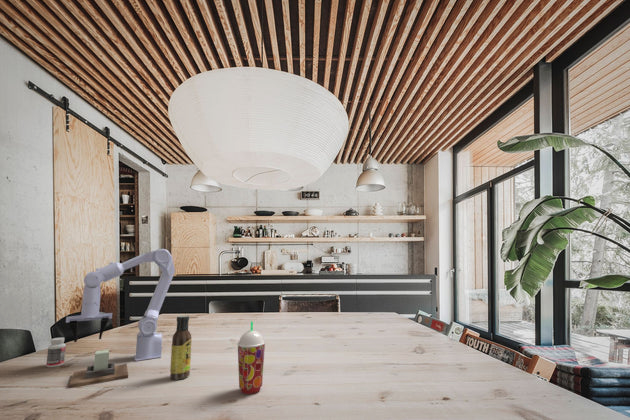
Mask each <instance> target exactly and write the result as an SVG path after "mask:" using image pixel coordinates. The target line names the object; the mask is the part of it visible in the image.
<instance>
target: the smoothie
mask: <svg viewBox="0 0 630 420" xmlns="http://www.w3.org/2000/svg"><path fill="white" fill-rule="evenodd" d="M253 328H254V321H253V320H251V321H250V330H248V331H246V332H244V333H243V334H242V335H241V336H240V339H239V340H238V342H237V359H238V360H237V361H238V363H237V364H238V365H237V366H238V387H239V389H240V392H241V393H243V394H245V395H253V394H257V393H259V392H260V391H261V387H262V386H263V379H264V378H263V376H264V363H265V348H266V347H265V346H266V341H265V340H264V336H263V335H262V334H261V333H260V332H259V331H257V330H254V329H253Z"/></svg>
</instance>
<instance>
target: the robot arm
mask: <svg viewBox="0 0 630 420" xmlns="http://www.w3.org/2000/svg"><path fill="white" fill-rule="evenodd" d="M143 263H154V264H156V265H157V266H158V268H159V269H160V272H161V275H160V277H159V279H158V282H157V284H156V286H155V290H154V292H153V295H152V297H151V299H150V302H149V304H148V306H147V309H146V310H145V312H144V315H143V316H142V317H141V318H140V319H139V321H138V323H137V328H138V330H139V332H138V333H136V345H135V346H136V348H135V354H134V355H133V359H134V361H135V362H138V361H144V360H151V359H159V358H161V357H162V352H163V351H162V350H163V334H162V333H161V332H160V333H158V332H157V328H158V322H157V321H158V319H159V314H160V311H161V308H162V306H163V303H164V301H165V298H166V295H167V293H168V290H169V288H170V285H171V283H172V280H173V278H174V275H175V272H176V269H175V265H174V259H173V255H172V254H171V253H170V251H169V250H167V249H165V248H159V249H156V250H152V251H148V252H144V253H142V254H140V255H139V254H138V256H135V257H133V258H131V259H128V260H126V261H123V262H122V263H121V262H117V261H115V262H113V261H111V262H108V265H105V266H103V267H100V268H99V267H98V268H96V269H95V271H91V272H88V273H87V274H86V275H85V276H84V277H83V283H84V287H83V292H82V302H81V313H80V315H71V316H66V318H65V323H69V324H68V325H69V327H70V329H71V332H72V334H73V342H74V343H77V341H78V328H79V322H84V321H86V322H87V321H96V320H100V328H99V329H100V330H99V336H98V340H102V335H103V334H104V331H105V329H106V327H107V324H108V323H109V320H110V319H113V312H107V313H105V312H104V313H103V312H102V313H100V305H101V295H102V294H101V293H102V290H101V286H102V285H101V283H102V282H104V283H106V282H109V281H111V280H114V279H116V278H118V277H120V276H122V275H123V274H124V273H125V271H126V270H129V269H130V268H134V267H136V266H138V265H141V264H143Z"/></svg>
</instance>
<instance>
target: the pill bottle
mask: <svg viewBox="0 0 630 420" xmlns="http://www.w3.org/2000/svg"><path fill="white" fill-rule="evenodd" d="M50 341H51V342H50V345H49V346H48V348H47V355H46V367H47V368H56V367H60V366H63V365H64V364H65V360H66V359H65V358H66V357H65V356H66V348H67V345H66V344H65V343H64V342H65V337H55V338H52V339H51V340H50Z"/></svg>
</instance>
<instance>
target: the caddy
mask: <svg viewBox="0 0 630 420" xmlns="http://www.w3.org/2000/svg"><path fill="white" fill-rule="evenodd" d="M124 379H125V380H126V379H129V370H128V364H127V363H123V364H117V365H116V363H115V361H113V362H108V369H102V370H95V371H94V365H88V366H87V368H86V369H84V370H79V371H74V372H73V374H72V377H71V378H70V382H69V384H68V388H69V389H72V388H78V387H84V386H89V385H95V384H101V383H107V382H114V381H117V380H124Z"/></svg>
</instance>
